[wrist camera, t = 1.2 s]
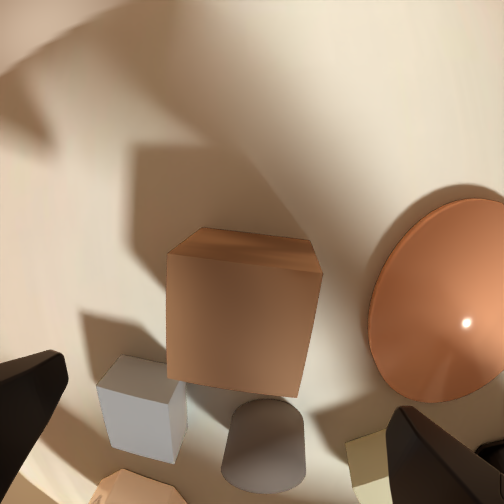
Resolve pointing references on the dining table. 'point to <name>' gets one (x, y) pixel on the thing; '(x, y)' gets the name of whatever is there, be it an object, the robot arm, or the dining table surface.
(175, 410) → the plastic brick
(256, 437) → the grey cylinder
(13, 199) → the dining table surface
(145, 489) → the jar
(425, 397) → the coaster
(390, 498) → the sage cube
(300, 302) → the walnut block
